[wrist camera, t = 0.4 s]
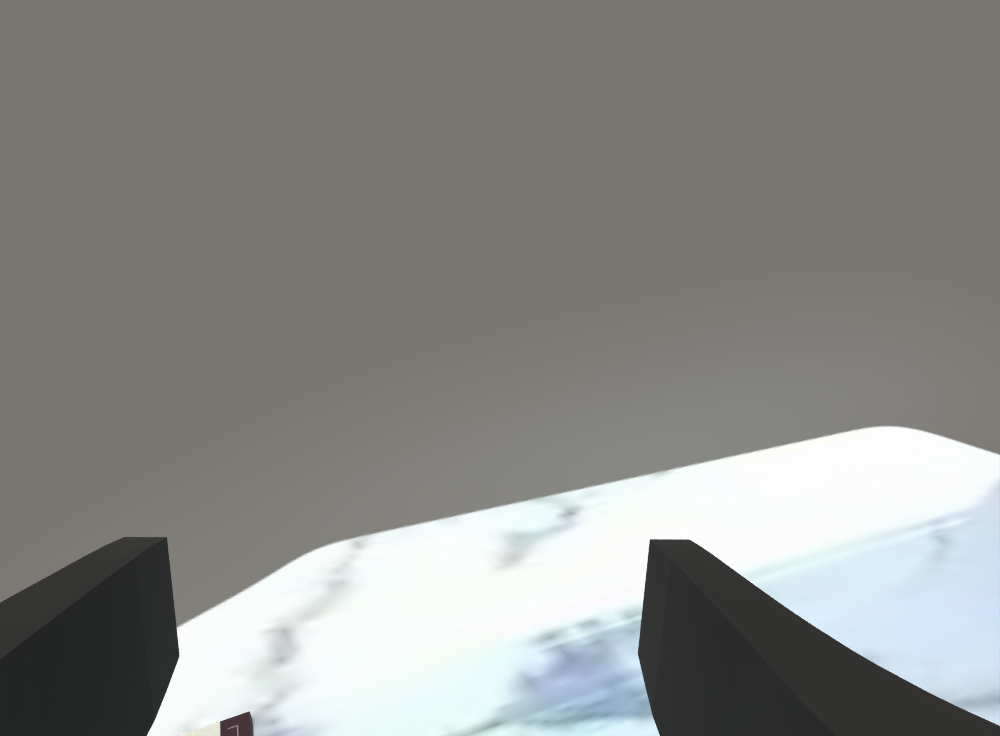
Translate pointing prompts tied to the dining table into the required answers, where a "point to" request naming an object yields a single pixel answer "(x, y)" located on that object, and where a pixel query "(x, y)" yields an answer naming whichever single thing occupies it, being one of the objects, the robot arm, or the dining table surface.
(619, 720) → the dining table surface
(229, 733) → the chocolate bar
